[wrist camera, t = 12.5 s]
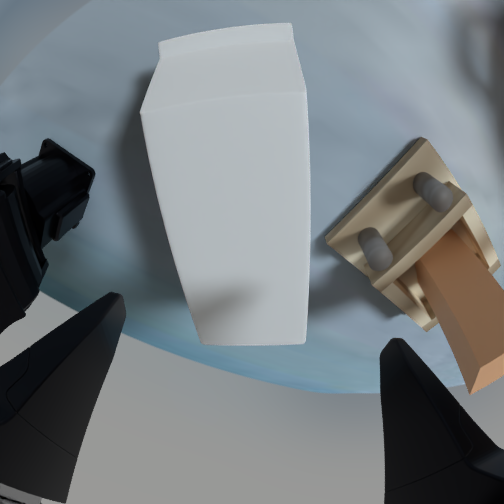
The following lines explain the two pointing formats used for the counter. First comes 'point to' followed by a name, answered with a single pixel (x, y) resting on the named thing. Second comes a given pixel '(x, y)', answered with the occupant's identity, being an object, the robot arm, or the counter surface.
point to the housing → (409, 228)
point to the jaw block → (465, 308)
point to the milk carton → (234, 179)
